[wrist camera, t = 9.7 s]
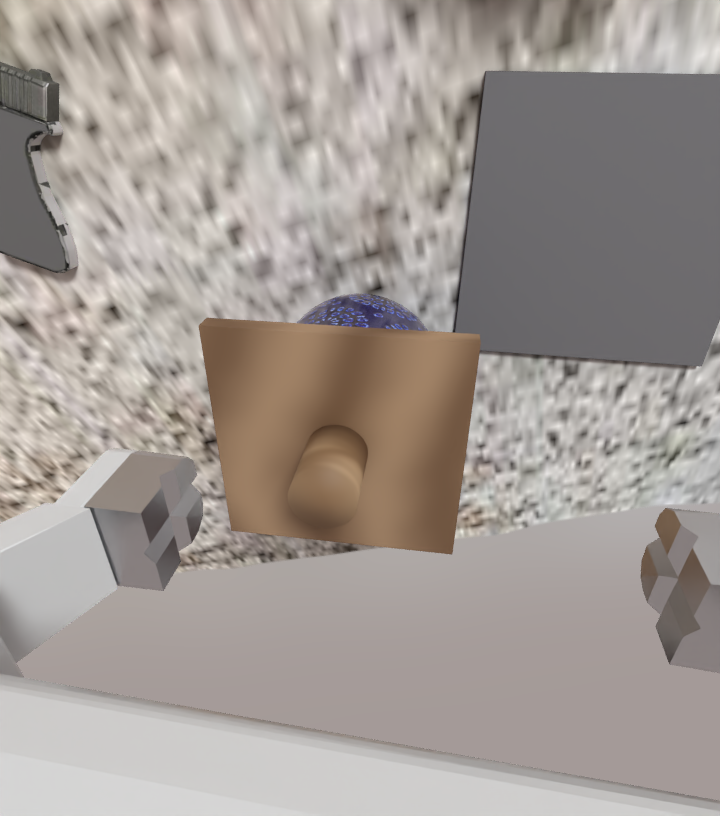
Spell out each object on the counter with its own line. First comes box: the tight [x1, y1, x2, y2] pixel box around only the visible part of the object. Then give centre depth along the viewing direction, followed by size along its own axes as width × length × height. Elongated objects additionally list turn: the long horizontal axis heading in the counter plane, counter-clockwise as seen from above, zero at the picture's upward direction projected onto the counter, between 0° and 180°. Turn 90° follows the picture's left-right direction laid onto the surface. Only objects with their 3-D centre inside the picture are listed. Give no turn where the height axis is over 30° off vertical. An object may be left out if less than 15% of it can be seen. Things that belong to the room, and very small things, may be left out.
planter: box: [297, 294, 428, 331], centre depth 33 cm, size 11×11×11 cm
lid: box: [199, 318, 481, 554], centre depth 26 cm, size 13×13×5 cm
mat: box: [455, 71, 720, 366], centre depth 31 cm, size 16×16×1 cm
